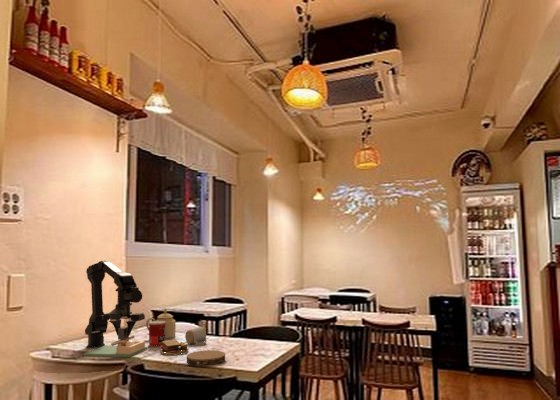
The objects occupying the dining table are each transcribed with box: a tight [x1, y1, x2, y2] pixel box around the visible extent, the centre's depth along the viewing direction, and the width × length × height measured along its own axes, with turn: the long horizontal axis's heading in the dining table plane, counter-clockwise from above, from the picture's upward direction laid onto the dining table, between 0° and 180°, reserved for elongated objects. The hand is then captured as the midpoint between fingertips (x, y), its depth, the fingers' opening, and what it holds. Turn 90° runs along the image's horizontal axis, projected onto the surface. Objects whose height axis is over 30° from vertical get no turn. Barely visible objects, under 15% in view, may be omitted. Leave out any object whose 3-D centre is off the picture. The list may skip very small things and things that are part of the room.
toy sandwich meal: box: [159, 339, 190, 356], centre depth 205 cm, size 12×14×5 cm
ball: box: [125, 340, 135, 346], centre depth 206 cm, size 4×4×4 cm
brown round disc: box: [186, 349, 226, 367], centre depth 188 cm, size 16×16×3 cm
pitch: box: [83, 340, 148, 358], centre depth 207 cm, size 22×16×4 cm
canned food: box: [148, 320, 166, 347], centre depth 223 cm, size 8×8×11 cm
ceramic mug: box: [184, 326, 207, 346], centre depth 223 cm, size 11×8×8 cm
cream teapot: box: [145, 308, 177, 340], centre depth 241 cm, size 15×11×15 cm
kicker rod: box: [110, 326, 136, 346], centre depth 207 cm, size 3×17×10 cm, turn 167°
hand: (123, 335), depth 207 cm, fingers open, 5 cm apart
